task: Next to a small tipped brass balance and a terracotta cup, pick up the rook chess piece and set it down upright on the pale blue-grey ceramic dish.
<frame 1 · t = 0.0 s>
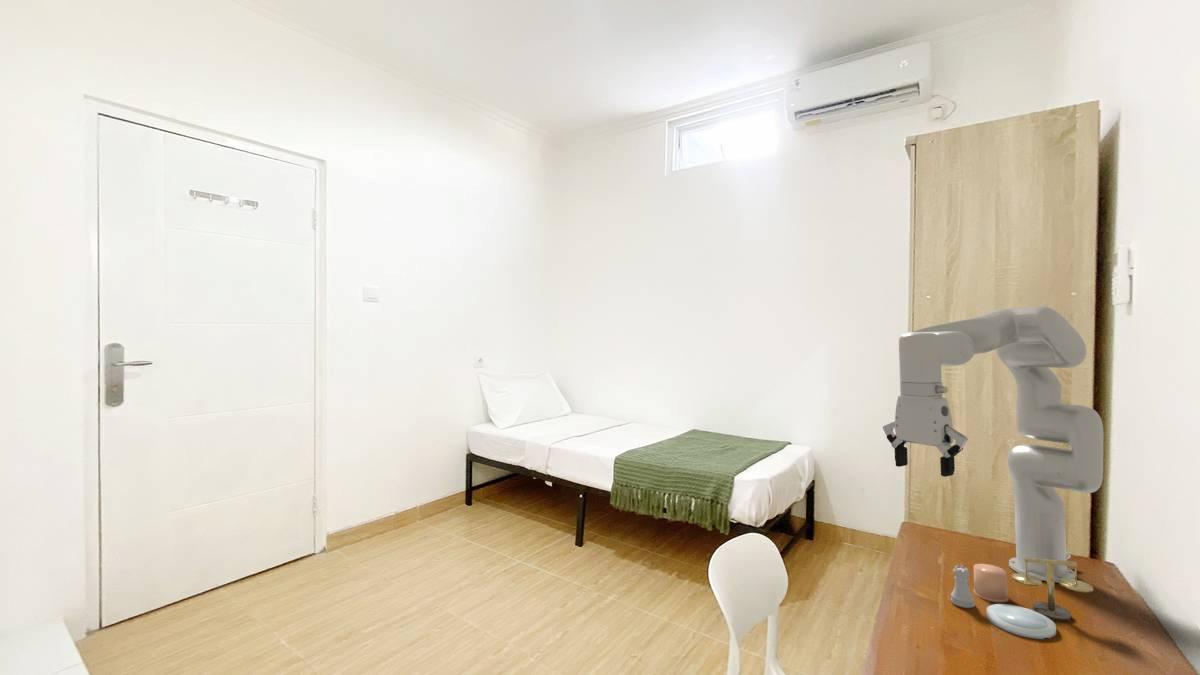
hand: (923, 470, 108), 31 cm above the table, tool pointing down, fingers open, 9 cm apart
rook chess piece: (962, 604, 112), on the table
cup: (990, 595, 116), on the table
dish: (1020, 623, 104), on the table
balance: (1051, 613, 107), on the table
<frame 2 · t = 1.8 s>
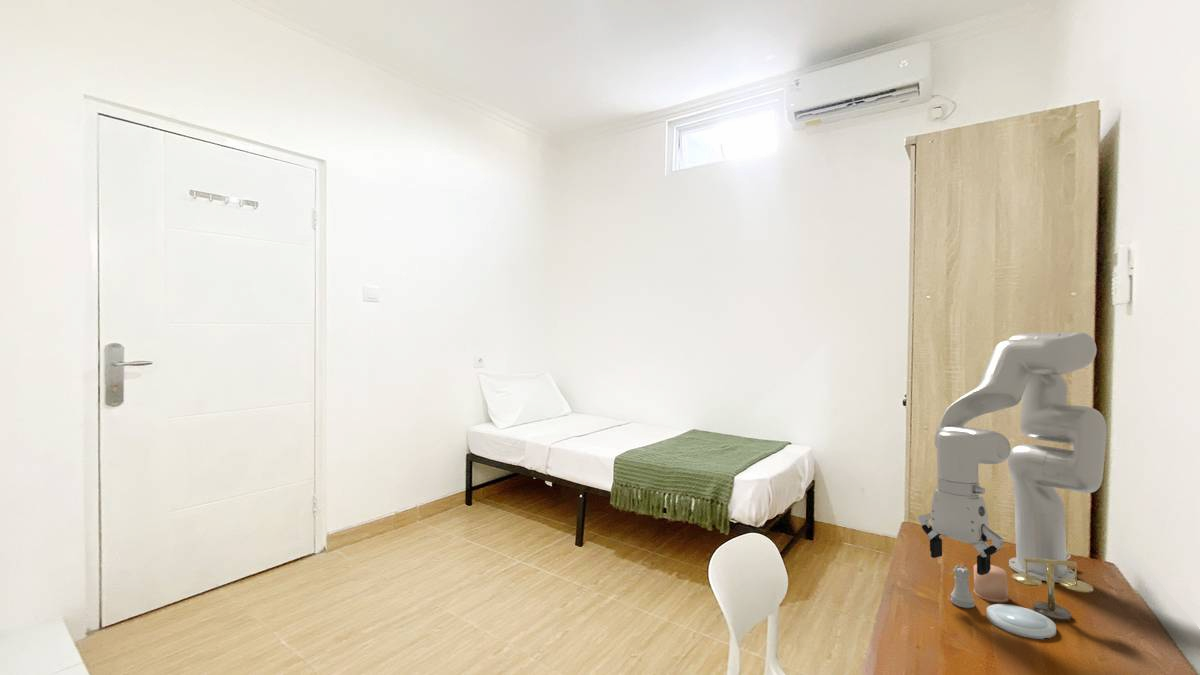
hand: (959, 564, 112), 9 cm above the table, tool pointing down, fingers open, 9 cm apart
nothing on the table moved.
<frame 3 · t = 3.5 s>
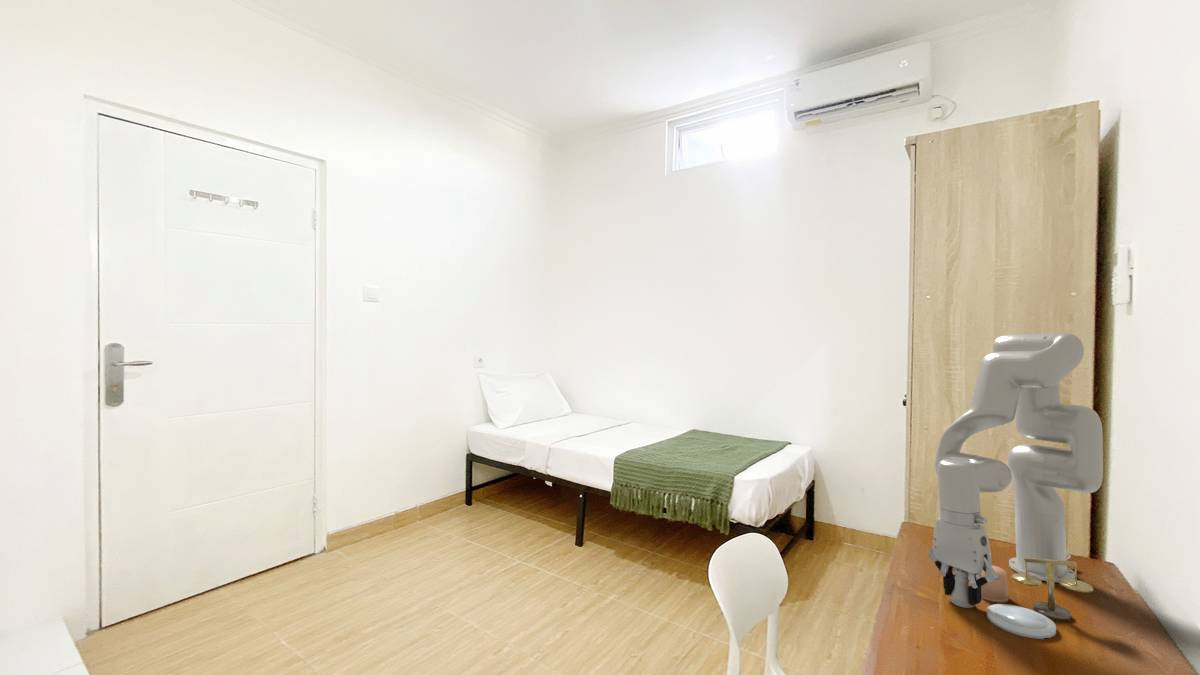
hand: (962, 597, 112), 1 cm above the table, tool pointing down, fingers closed on rook chess piece, 4 cm apart
rook chess piece: (962, 604, 112), on the table, touching gripper
everything else where it was.
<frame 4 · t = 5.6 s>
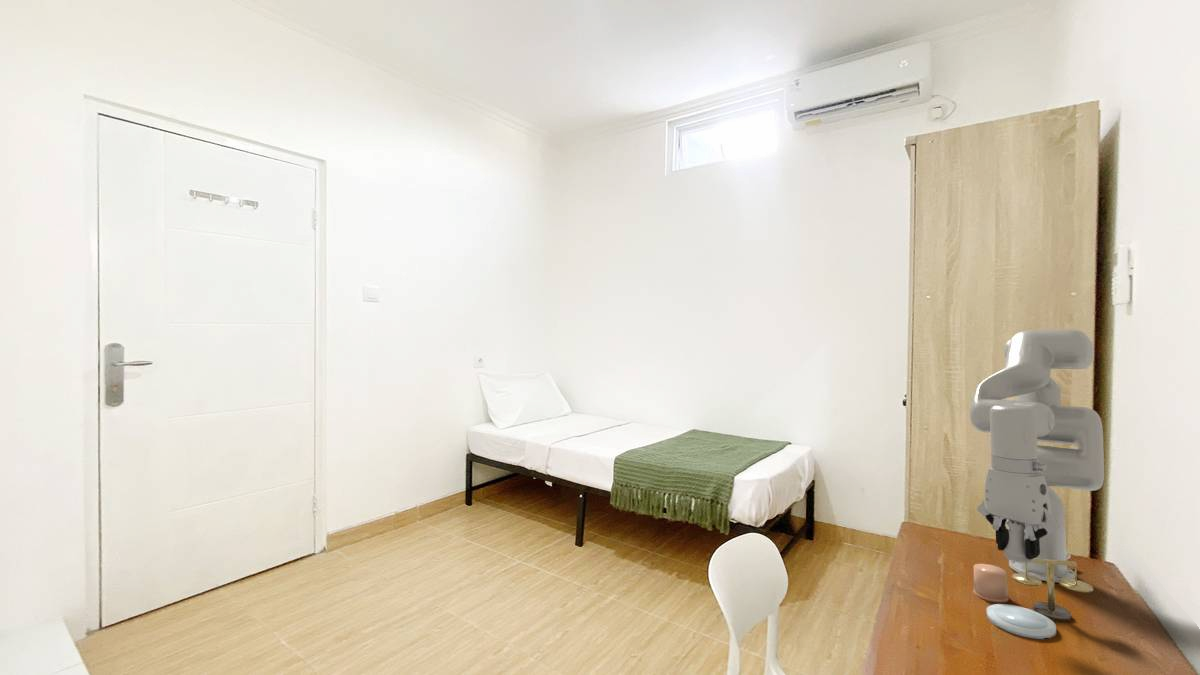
hand: (1017, 552, 104), 15 cm above the table, tool pointing down, fingers closed on rook chess piece, 4 cm apart
rook chess piece: (1017, 560, 104), point 13 cm above the table, touching gripper
everything else where it was.
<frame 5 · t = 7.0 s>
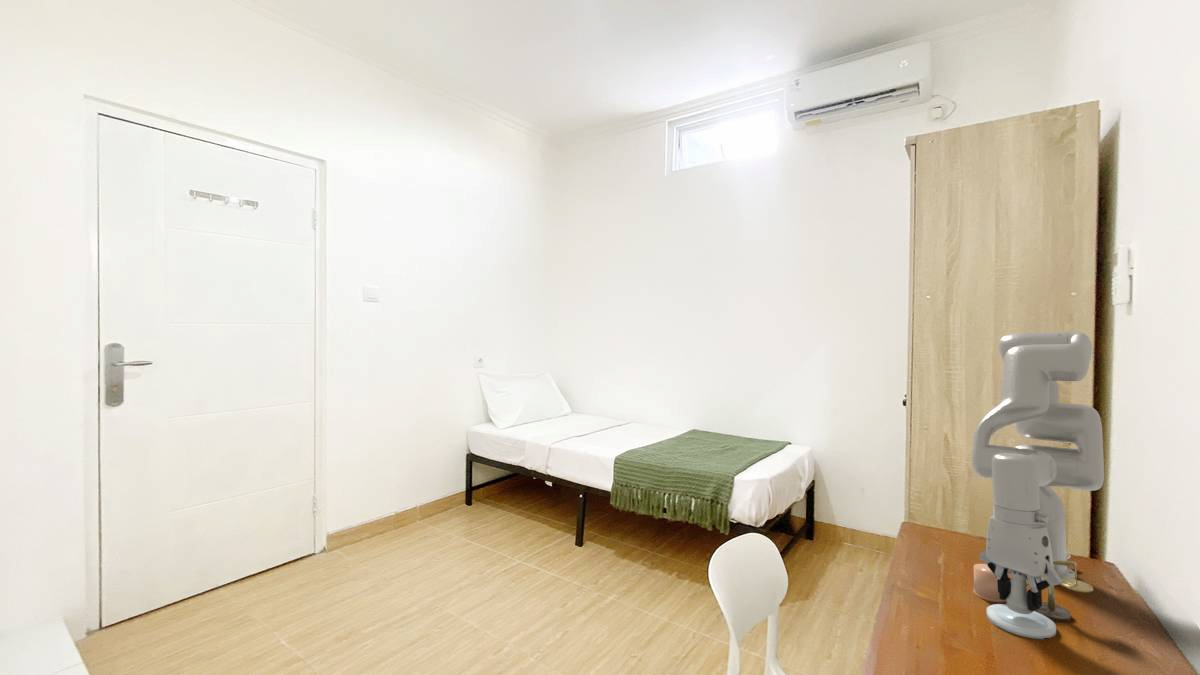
hand: (1019, 602, 104), 4 cm above the table, tool pointing down, fingers closed on rook chess piece, 4 cm apart
rook chess piece: (1019, 610, 104), point 3 cm above the table, touching gripper
everything else where it was.
when the fingers open (3 cm above the table, at t = 7.9 s): rook chess piece stays where it is, resting on dish.
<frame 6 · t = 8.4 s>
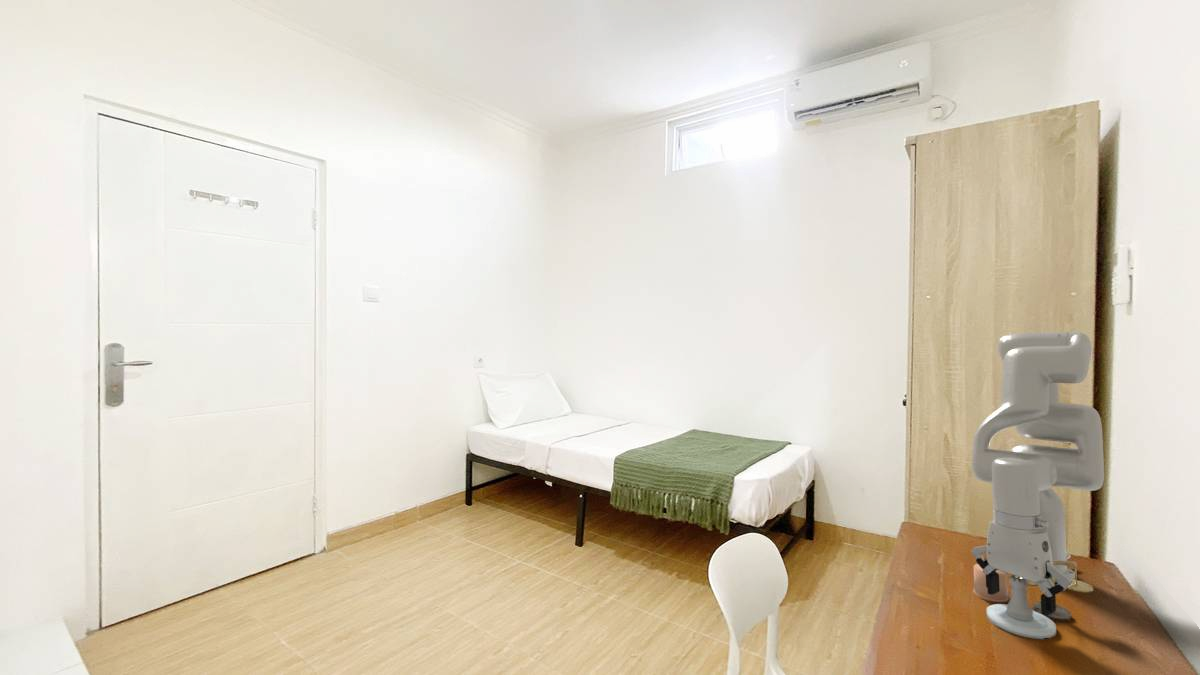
hand: (1019, 602, 104), 4 cm above the table, tool pointing down, fingers open, 9 cm apart
rook chess piece: (1019, 617, 104), point 1 cm above the table, touching dish
everything else where it was.
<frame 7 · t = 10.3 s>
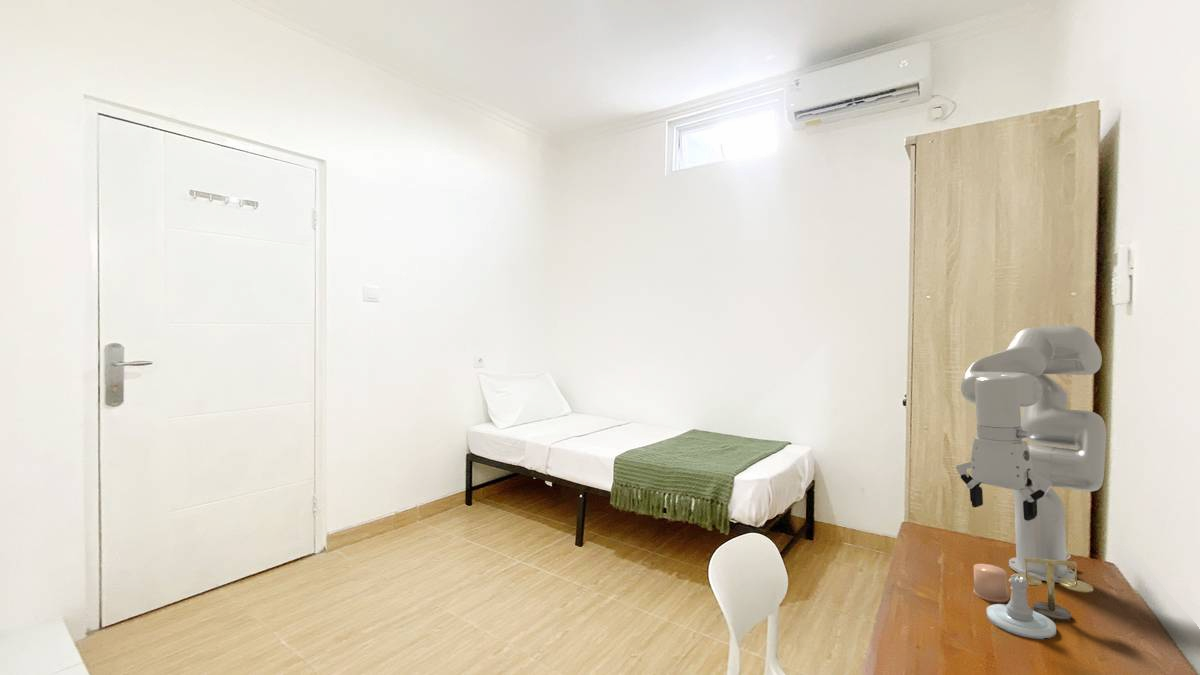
hand: (1002, 512, 109), 21 cm above the table, tool pointing down, fingers open, 9 cm apart
nothing on the table moved.
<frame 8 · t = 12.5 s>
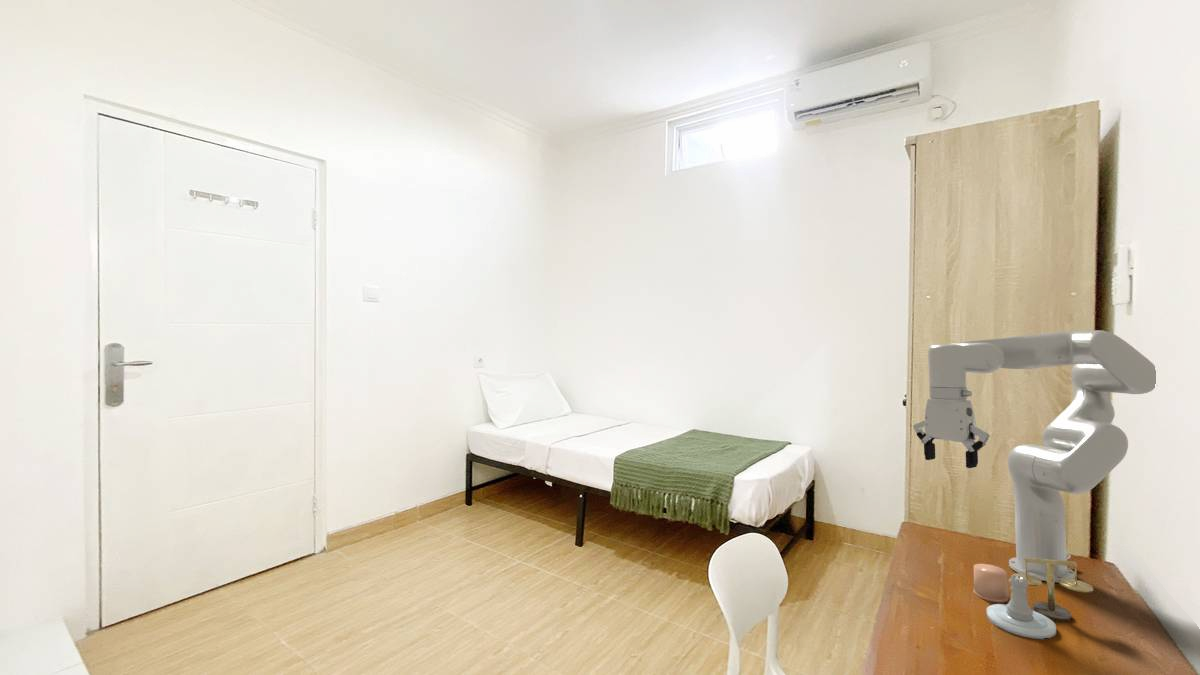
hand: (950, 463, 125), 28 cm above the table, tool pointing down, fingers open, 9 cm apart
nothing on the table moved.
at the end: rook chess piece 0.1 cm from the dish (horizontally); rook chess piece tilted 0°; the gripper is holding nothing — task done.
